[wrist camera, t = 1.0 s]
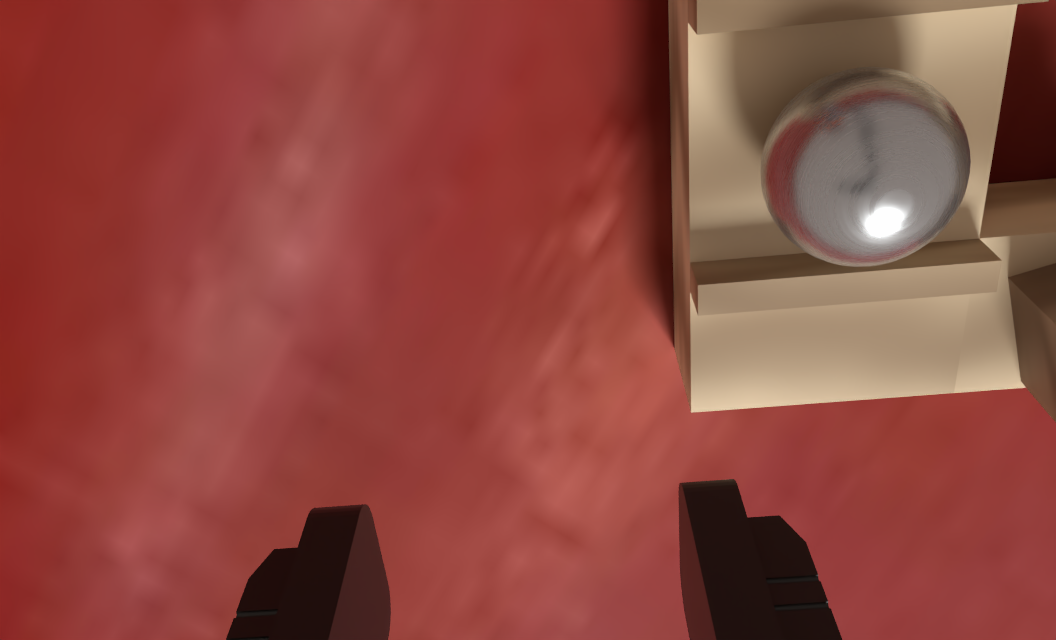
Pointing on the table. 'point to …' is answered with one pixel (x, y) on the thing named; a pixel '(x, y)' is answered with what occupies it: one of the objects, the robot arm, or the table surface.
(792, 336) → the wooden stepped tray
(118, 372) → the table surface
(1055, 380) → the walnut cube
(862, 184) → the ball
